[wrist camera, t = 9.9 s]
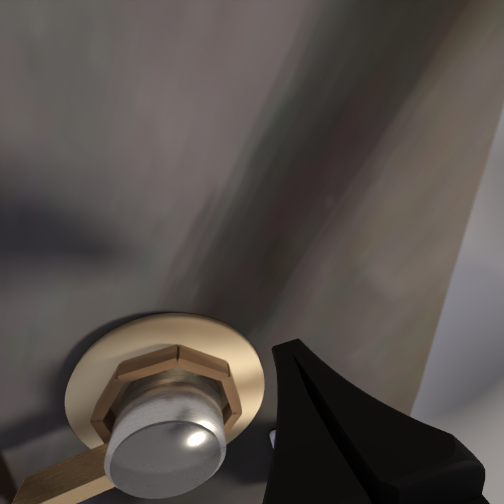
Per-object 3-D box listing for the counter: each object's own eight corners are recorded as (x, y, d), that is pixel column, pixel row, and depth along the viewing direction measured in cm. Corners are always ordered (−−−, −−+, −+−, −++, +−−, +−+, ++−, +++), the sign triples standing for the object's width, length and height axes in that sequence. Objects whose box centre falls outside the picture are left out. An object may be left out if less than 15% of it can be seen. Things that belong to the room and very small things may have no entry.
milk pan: (199, 350, 22) (201, 401, 17) (232, 413, 25) (241, 471, 20) (10, 427, 21) (-39, 503, 16) (71, 483, 24) (44, 559, 19)
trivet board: (275, 420, 28) (282, 444, 26) (117, 476, 26) (110, 508, 24) (240, 288, 22) (246, 304, 19) (29, 350, 20) (8, 376, 18)
